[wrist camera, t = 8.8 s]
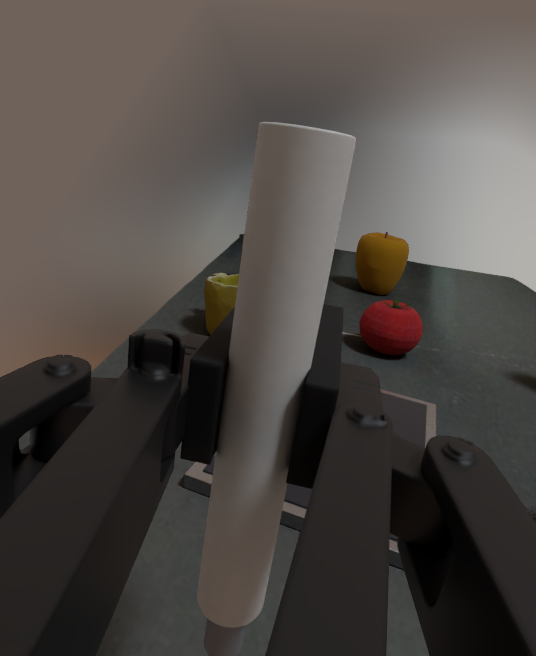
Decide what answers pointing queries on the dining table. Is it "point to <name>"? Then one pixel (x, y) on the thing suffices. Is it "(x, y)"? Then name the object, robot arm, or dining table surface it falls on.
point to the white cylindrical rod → (268, 365)
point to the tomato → (391, 327)
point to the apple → (380, 262)
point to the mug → (219, 298)
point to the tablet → (408, 422)
